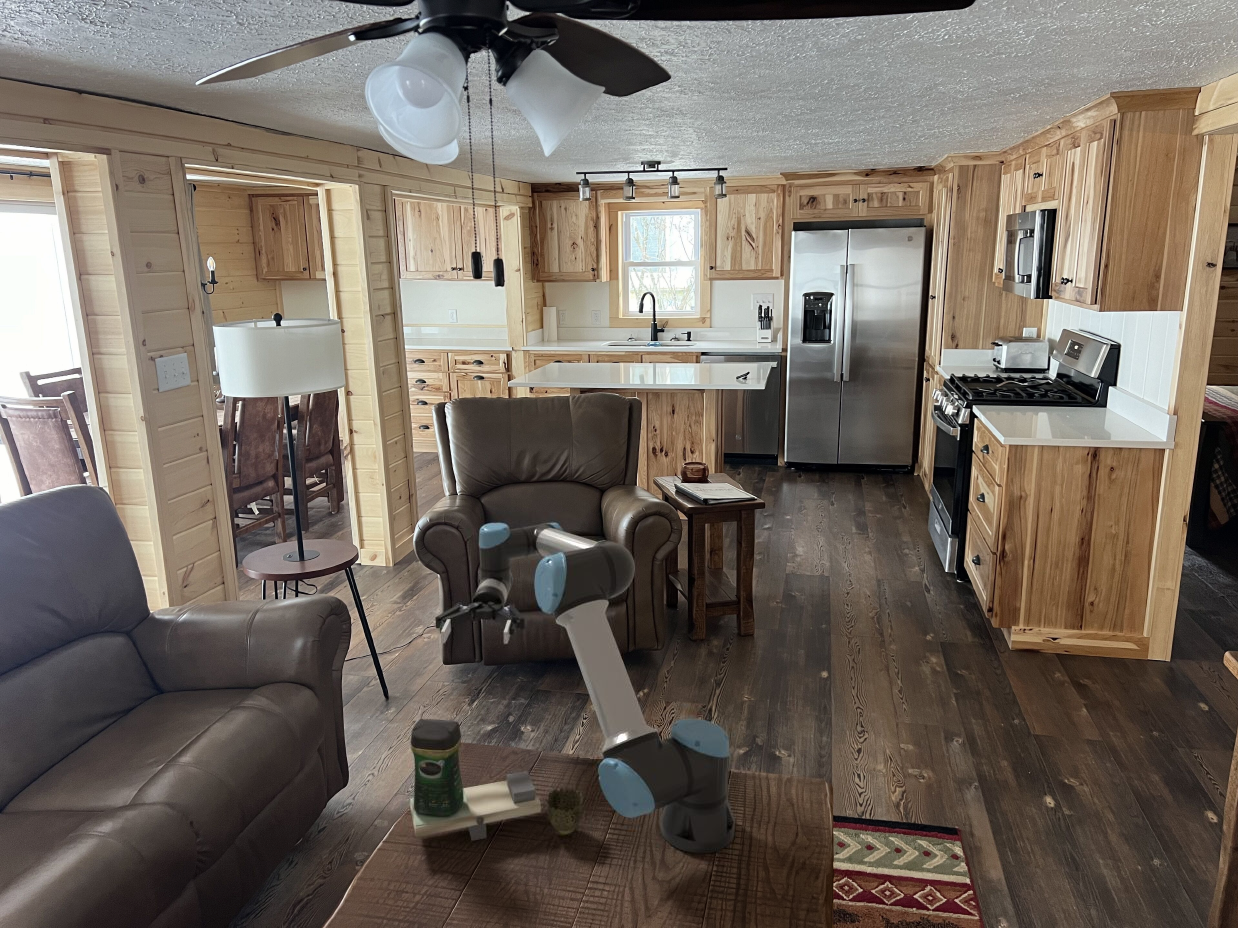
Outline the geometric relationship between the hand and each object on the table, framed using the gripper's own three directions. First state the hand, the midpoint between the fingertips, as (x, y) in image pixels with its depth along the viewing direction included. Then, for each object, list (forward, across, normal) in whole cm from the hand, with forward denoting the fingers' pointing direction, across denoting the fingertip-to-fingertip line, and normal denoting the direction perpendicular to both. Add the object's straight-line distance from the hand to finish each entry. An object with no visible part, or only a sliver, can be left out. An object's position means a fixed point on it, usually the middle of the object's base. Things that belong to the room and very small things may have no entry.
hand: (474, 637), depth 187 cm
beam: (+18, -2, -28) cm, 34 cm away
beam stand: (+18, -2, -34) cm, 39 cm away
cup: (+19, -21, -34) cm, 44 cm away
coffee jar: (+20, +4, -27) cm, 35 cm away
